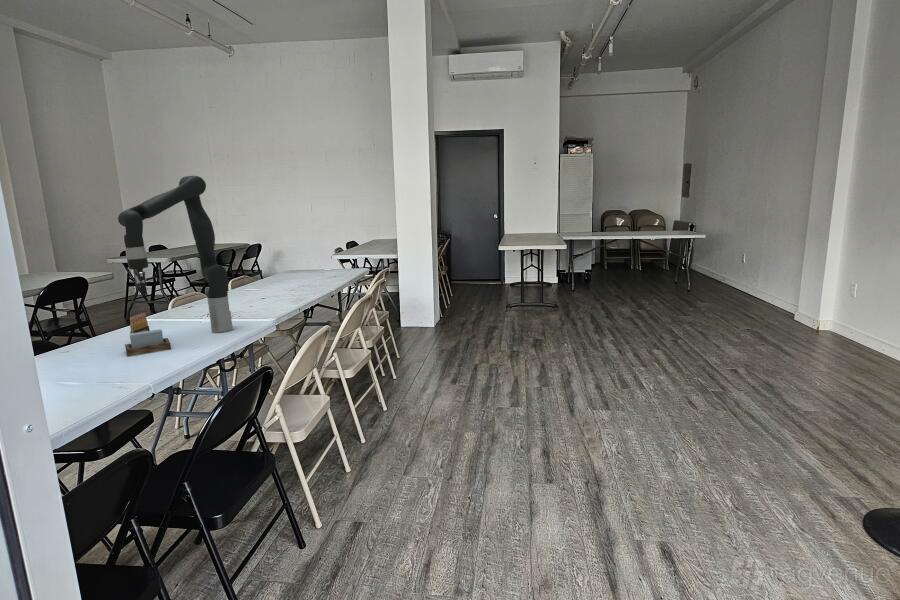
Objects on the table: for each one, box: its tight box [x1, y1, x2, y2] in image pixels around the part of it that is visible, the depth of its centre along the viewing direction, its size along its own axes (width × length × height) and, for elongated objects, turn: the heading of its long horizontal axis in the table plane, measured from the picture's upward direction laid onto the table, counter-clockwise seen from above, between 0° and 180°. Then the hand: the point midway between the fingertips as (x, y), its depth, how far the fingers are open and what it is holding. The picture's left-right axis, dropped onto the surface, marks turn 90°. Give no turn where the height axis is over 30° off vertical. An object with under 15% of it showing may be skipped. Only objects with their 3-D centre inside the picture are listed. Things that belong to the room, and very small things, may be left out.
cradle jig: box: [124, 337, 172, 357], centre depth 222 cm, size 16×9×3 cm, turn 125°
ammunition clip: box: [129, 312, 151, 334], centre depth 241 cm, size 11×2×12 cm, turn 174°
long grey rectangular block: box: [129, 328, 164, 348], centre depth 221 cm, size 12×4×7 cm, turn 124°
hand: (143, 293), depth 224 cm, fingers open, 8 cm apart
